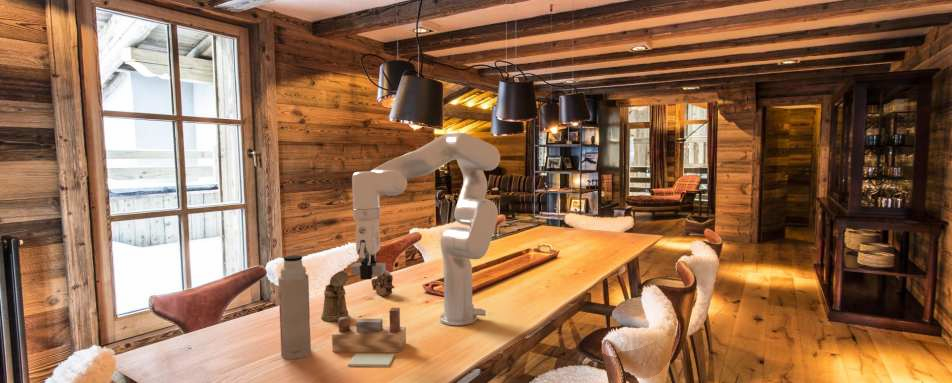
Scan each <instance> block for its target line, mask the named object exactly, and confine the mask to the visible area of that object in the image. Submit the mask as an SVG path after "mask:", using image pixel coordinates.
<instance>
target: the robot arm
mask: <svg viewBox="0 0 952 383" xmlns="http://www.w3.org/2000/svg"><path fill="white" fill-rule="evenodd" d="M455 160H456V162H457V165H458V167H459V169H460V171H461V174H462V178H463V180H462V181H463V182H462V186H461V190H460V193H459V196H458V199H457V203H456V205H455V208H454V212H453V213H454V214H453V215H454V216H453V218H454V220H455V221H456V222H457V223H458V224H461V225H464V226H470V228H466V227H460V226H459V227H457V226H453V227H452V226H451V227H449V228H447V229H445V230H444V231H443V232H442V234H441V235H440V236H441V237H440V240H439V241H440V243H439V244H440V249H441V254H442V260H443V261H442V262H443V296H444V297H443V300H444V302H443V304H444V306H443V307H444V312H443V313H441V315H440V316H439V321H440V322H441V323H443V324H445V325H448V326H466V325H471V324H473V323H476V322H477V320H478V316H481V317H482V316H483V317H485V316H486V314H487V312H486V311H487V310H486V309H483V308H476V307H475V306H474V305H475V304H473V268H472V262H471V260H481V259H482V258H484V257H485V255H486V254H487V252H488V250H489V247H490V244H491V242H492V239H493V235H494V232H495V229H496V225H497V222H498V216H499V215H498V214H499V213H498V208H497V205H496V204H495V202H494V201H493V200H490V199H488V198H486V195H487V191H488V181H487V177H486V175H485V172H484V171H493V170H495V169H496V168H497V167H498V166H499V164H500V161H501V155H500V151H499V150H498V148H497V147H496V146H495V145H493V144H491V143H489V142H487V141H485V140H483V139H480V137H479V138H478V137H477V136H474V135H472V134H469V133H465V132H464V133H463V132H460V133H458V132H457V133H446V134H442V135H441V136H438V137H437V138H435V139H433V140H432V141H430V142H429V143H426V144H424V145H423V146H421V147H419V148H418V149H415V150H413V151H410V152H407V153H406V154H403V155H400V156H397V157H395V158H393V159H390V160H388V161H386V162H384V163H382V164H380V165H378V166H377V167H374V168H373V169H372V170H369V171H366V170H365V171H356V172H354V173H353V174H352V177H351V183H352V184H351V185H352V187H351V188H352V208H353V209H352V215H353V217H352V218H353V221H355V224H356V225H355V250H356V254H357V255H358V258H359V263H360V275H359V276H360V280H372V279H373V275H372V265H370V263H377V255H376V254H377V253H378V252H379V251H380V250H381V248H382V247H381V232H380V222H379V220H381V206H380V205H381V203H380V202H381V200H380V196H381V195H382V196H391V197H392V196H394V197H395V196H398V195H401V194H403V192H405V190H406V188H407V186H408V180H407V179H411V178H412V179H413V178H419V177H423V176H427V175H430V174H431V173H433V172H435V171H436V170H439V169H440V168H441V167H444V165H446V164H448V163H450V162H451V161H455Z"/></svg>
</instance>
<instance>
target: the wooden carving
mask: <svg viewBox="0 0 952 383" xmlns="http://www.w3.org/2000/svg"><path fill="white" fill-rule="evenodd" d="M376 277H377V278H372V279H371V286H372V290H373V291H375V292H376V294H377V295H378V296H382V297H383V296H385V297H386V296H387V297H388V296H391V295H392V294H393V289H395V285H393V280H394V279H393V278H394V277H393V275H392V274H391V273H390V271H388V270H386V271H385V272H384V273H383V274H382V275H376Z"/></svg>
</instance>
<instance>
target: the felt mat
mask: <svg viewBox="0 0 952 383" xmlns="http://www.w3.org/2000/svg"><path fill="white" fill-rule="evenodd" d="M394 357H395V354H394V353H355V354H353V356H352V358H351V359H350V361H349V362H348V363H347V367H376V368H377V367H380V368H381V367H383V368H385V367H386V368H389V367H390V365H391V363H392V361H393V359H394Z"/></svg>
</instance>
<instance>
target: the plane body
mask: <svg viewBox="0 0 952 383" xmlns="http://www.w3.org/2000/svg"><path fill="white" fill-rule="evenodd" d="M400 310H401V308H400V307H391V308H390V309H389V310H388V311H389V326H384V325H383V322H384V321H383V319H382V318H358V319H357V320H356V321H355V325H354V326H351V322H350V321H351V320H350V318H351V317H349V316H348V317H340V318H338V321H337V322H338V327H337V329H336V330H335V331H334V332H332V335H331V341H332V342H331V343H332V345H331V347H332V352H335V353H336V352H340V353H341V352H342V353H343V352H348V353H350V352H352V353H355V352H357V353H367V352H368V353H373V352H374V353H402V352H403V350H404V348H405V346H406V344H407V327H406V326H401V313H400V312H401V311H400Z"/></svg>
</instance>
